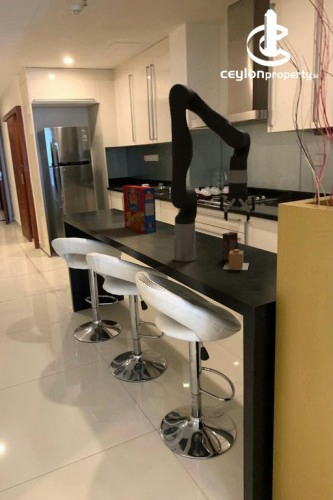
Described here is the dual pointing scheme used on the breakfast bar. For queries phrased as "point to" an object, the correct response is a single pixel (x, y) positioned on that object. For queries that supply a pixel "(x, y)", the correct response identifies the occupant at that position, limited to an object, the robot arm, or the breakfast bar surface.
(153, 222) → the pasta box
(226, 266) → the square plate with peg
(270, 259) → the breakfast bar surface
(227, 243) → the box
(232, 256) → the orange toy brick
